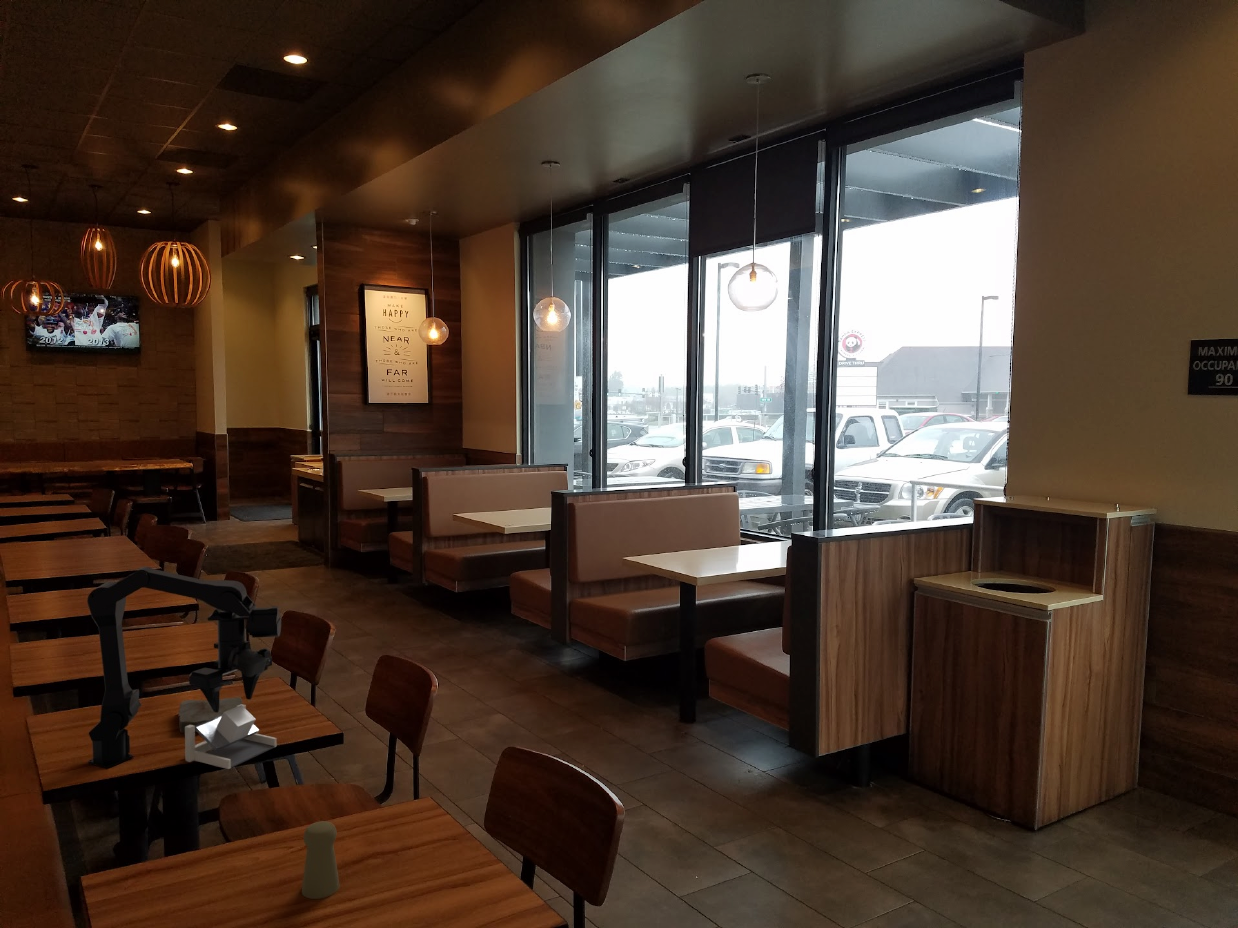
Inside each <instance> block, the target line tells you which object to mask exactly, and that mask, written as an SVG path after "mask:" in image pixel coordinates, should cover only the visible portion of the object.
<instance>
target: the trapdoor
mask: <svg viewBox="0 0 1238 928" xmlns="http://www.w3.org/2000/svg"><path fill="white" fill-rule="evenodd" d="M221 717H222V715H221V716H218V717H216V718H213V719H211V720H208V721H206V722H203V723H201V724H199V725H196V726H195V730H196V732H195V733H197V734H198V735H199V736H200V737H201V738H202V739H203V740H204V741H206V742H207V743H208V744H209V745H210V746H211V747H212V748H213V749H214V750H215V751H218V750H220V749H222V748H224V747H227V746H229V745H231V744H233V743H236V742H238V741H240V740H242V739H245V738H247V737H249V736H251V735H254V734H256V733H257V734H259V731H260V729H259V728H258V727H257V726H256V725H255V724H254V723H253V725H252V727H251V729H250V731H249V734H248V735H247V736H245V737H243V738H240V739H238V740H236V741H234V742H231V743H229V742H228V740H227V739H226V738H225V737H224V736H223V735H222V734H221V733H220V732H219V731H218V730H217V729H216V727H217V725H218V723H219V721H220V719H221ZM213 749H212V750H213Z"/></svg>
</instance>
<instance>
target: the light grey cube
mask: <svg viewBox="0 0 1238 928" xmlns="http://www.w3.org/2000/svg"><path fill="white" fill-rule="evenodd" d="M255 721H256V718H255V717H254V716H253V715H252V714H251V713H250V712H249V711H248V710H247V708H246V709H245V708H244V707H243V706H242V705H240V706H238V707H235V708H233V709H230V710H228V711H225V712H224V713H223V715H222V717H221V719H220V721H219V723H218V725H217V727H216V729H217V730H218V731H219V732H220V733H221V734H222V735H223V736H224V737H225V738H226V739H227V740H228V742H229V743H231V742H234V741H236V740H238V739H240V738H243V737H245V736H247V735H248V734H249V731H250V729H251V727H252V725H253V724H254V723H255Z"/></svg>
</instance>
